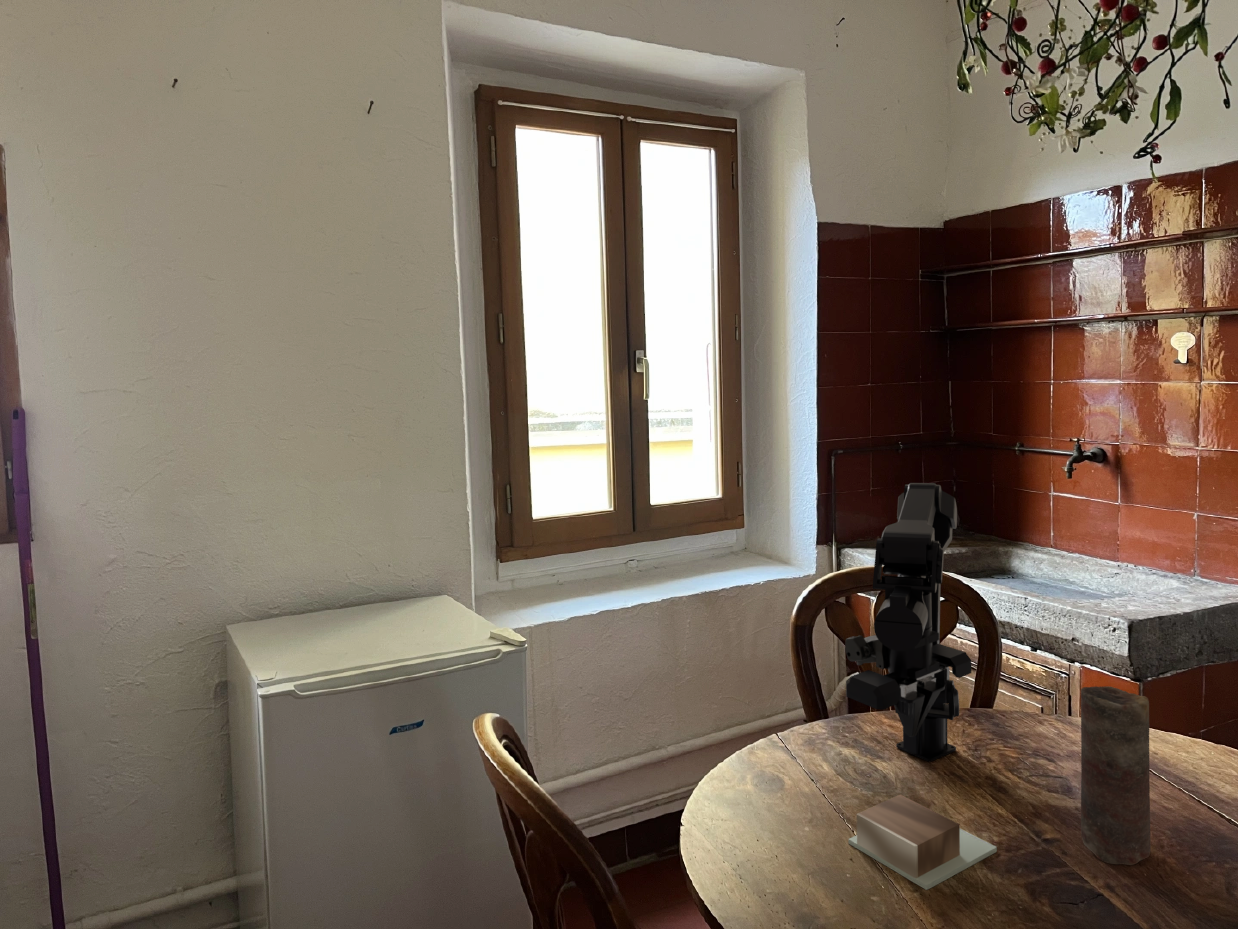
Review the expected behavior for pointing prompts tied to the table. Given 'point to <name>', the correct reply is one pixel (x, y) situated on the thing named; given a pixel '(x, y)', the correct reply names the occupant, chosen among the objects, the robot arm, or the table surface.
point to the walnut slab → (908, 835)
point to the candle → (1115, 774)
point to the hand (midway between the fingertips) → (910, 735)
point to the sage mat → (969, 855)
